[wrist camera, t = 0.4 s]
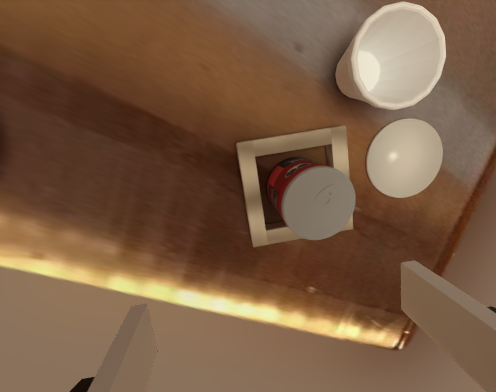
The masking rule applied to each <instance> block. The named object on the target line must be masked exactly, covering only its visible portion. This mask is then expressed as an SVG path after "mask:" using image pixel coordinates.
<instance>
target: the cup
mask: <svg viewBox="0 0 496 392" xmlns="http://www.w3.org/2000/svg"><path fill="white" fill-rule="evenodd" d="M445 59H446V48H445V36H444V33H443V31H442V29H441V27H440V25H439V23H438V21H437V19H436V17H434V16H433V15H432V14H431V13H430V12H428V11H427V10H426V9H425V8H424V7H423V6H421V5H416V4H412V3H408V2H399V3H395V4H391V5H386V6H383V7H382V8H381V9H380V10H378V11H377V12H376V13H374V14H373V15H372V16H370V17H369V18H368V19H366V20H365V21H364V22H363V23H362V24H361V26H360V28H359V29H358V31H357V33H356V34H355V36H354V38H353V39H352V42H351V43H350V45H349V46H348V48H347V50H346V51H345V53H344V54H343V56H342V57H341V59H340V61H339V62H338V64H337V68H336V73H335V76H336V82H337V85H338V87H339V89H340V91H341V92H342V93H343V94H345V95H346V96H347V97H349V98H353V99H357V100H360V101H364V102H367V103H369V104H370V105H372V106H373V107H377V108H382V109H387V110H397V109H400V108H404V107H408V106H412V105H414V104H416V103H417V102H418V101H420V100H421V99H423V98H424V97H425V96H427V95H428V94H429V93H430V92H431V90H432V89H433V87H434V86H435V84H436V83H437V81H438V80H439V78H440V77H441V73H442V69H443V66H444V62H445Z"/></svg>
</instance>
